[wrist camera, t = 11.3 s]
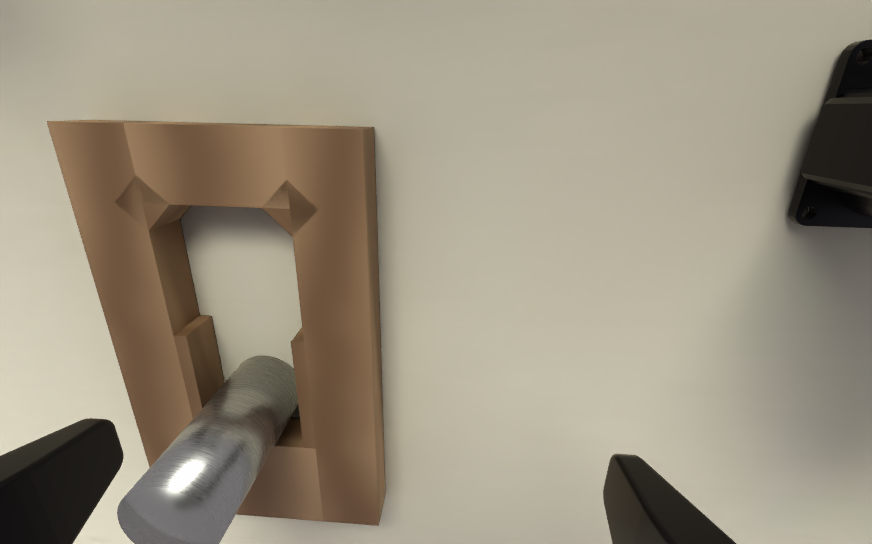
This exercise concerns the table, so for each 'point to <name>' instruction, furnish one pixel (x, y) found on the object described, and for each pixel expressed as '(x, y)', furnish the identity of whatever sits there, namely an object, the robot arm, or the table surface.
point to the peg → (213, 459)
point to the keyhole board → (194, 334)
